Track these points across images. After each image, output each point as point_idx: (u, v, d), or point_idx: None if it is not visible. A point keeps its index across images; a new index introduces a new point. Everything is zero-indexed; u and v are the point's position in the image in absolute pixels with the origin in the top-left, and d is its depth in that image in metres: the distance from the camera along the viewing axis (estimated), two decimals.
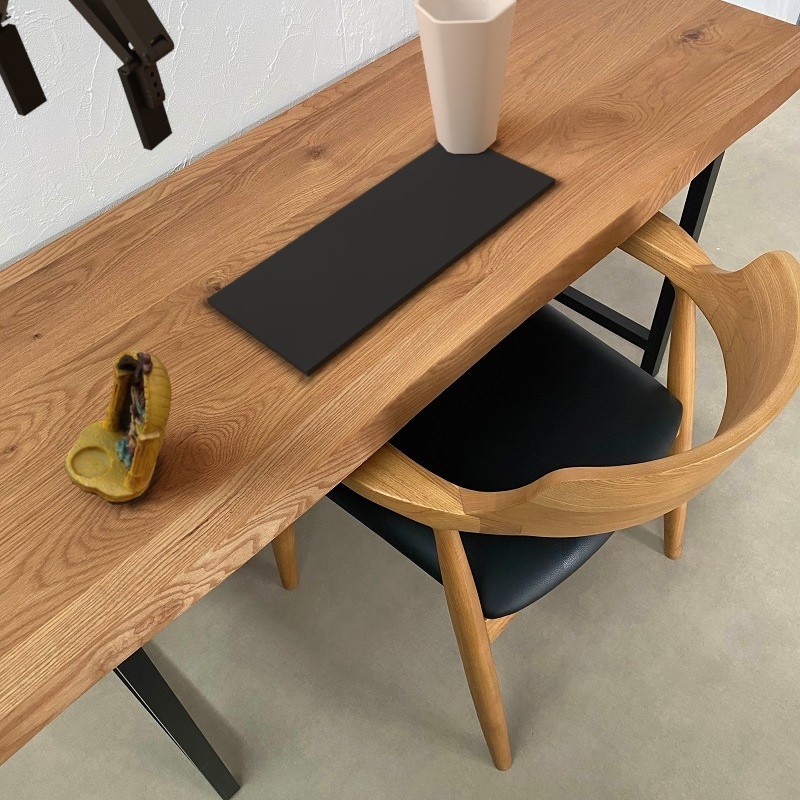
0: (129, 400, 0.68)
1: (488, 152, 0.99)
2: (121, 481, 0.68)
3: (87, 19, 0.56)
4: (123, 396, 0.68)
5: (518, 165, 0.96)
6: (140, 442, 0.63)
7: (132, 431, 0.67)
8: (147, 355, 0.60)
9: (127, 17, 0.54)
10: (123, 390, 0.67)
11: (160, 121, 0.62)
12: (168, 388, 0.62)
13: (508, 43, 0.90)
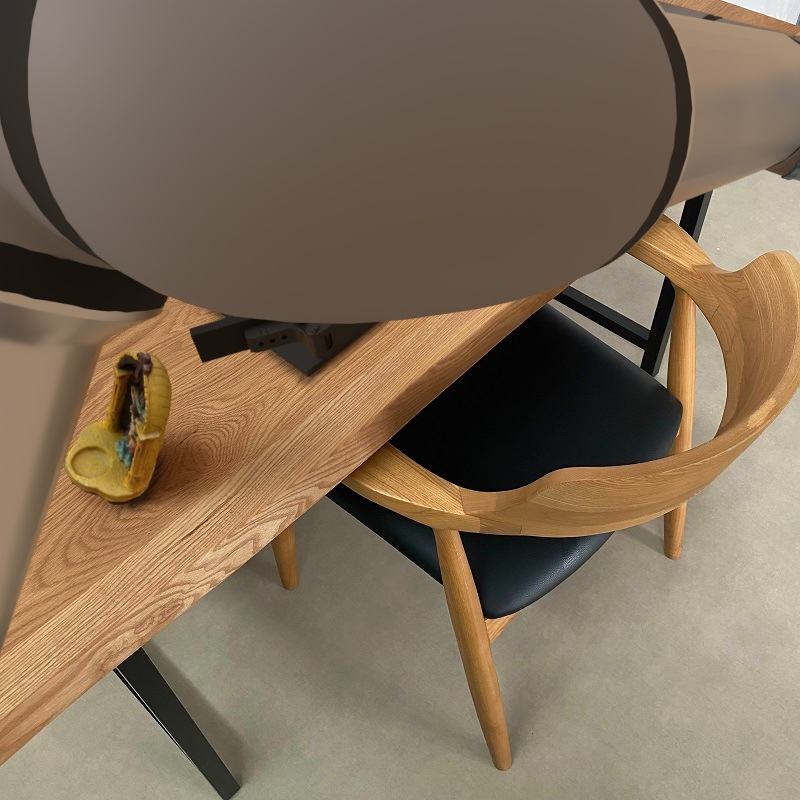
0: (129, 400, 0.68)
1: None
2: (121, 481, 0.69)
3: None
4: (123, 396, 0.68)
5: None
6: (140, 442, 0.63)
7: (132, 431, 0.67)
8: (147, 355, 0.60)
9: None
10: (123, 390, 0.67)
11: (219, 348, 0.54)
12: (168, 388, 0.62)
13: None
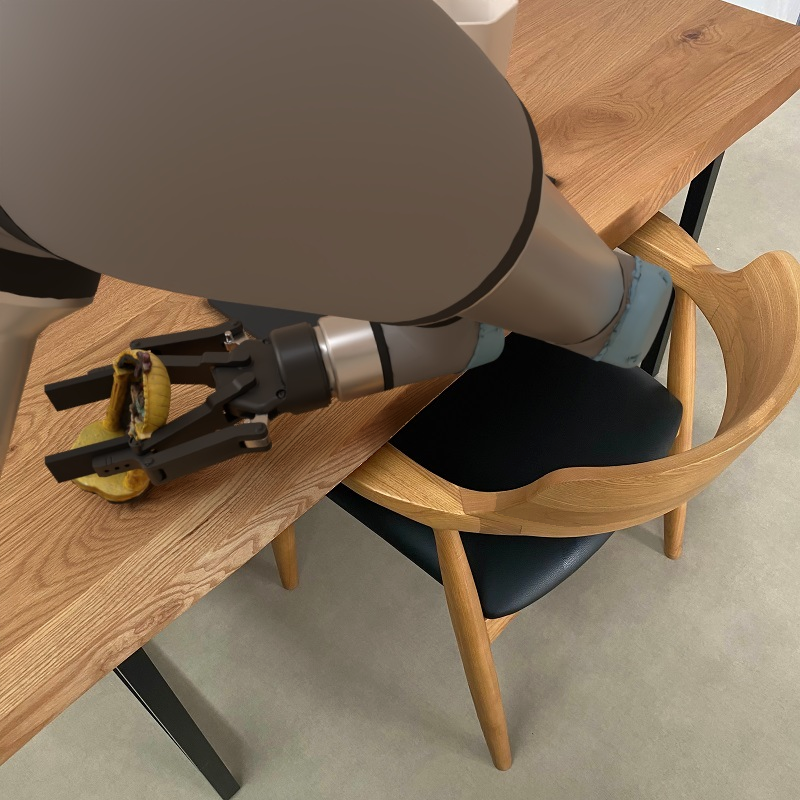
0: (129, 399, 0.68)
1: None
2: (120, 481, 0.69)
3: (179, 418, 0.63)
4: (123, 395, 0.68)
5: None
6: None
7: (132, 430, 0.67)
8: (146, 354, 0.60)
9: (185, 455, 0.61)
10: (123, 389, 0.67)
11: (72, 472, 0.63)
12: (167, 387, 0.62)
13: (509, 44, 0.90)
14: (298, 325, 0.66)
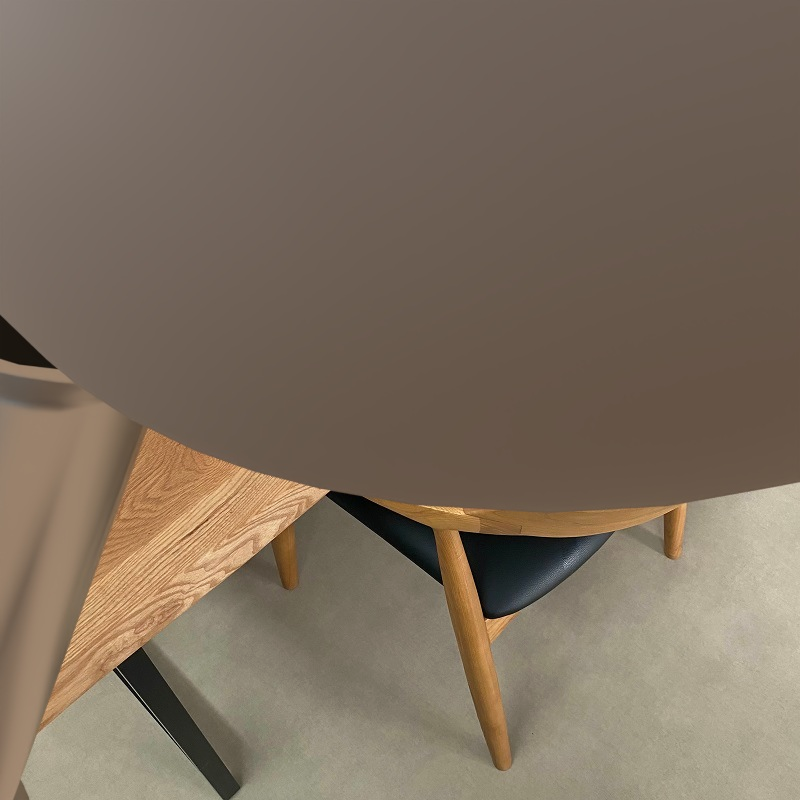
0: None
1: None
2: None
3: None
4: None
5: None
6: None
7: None
8: None
9: None
10: None
11: None
12: None
13: None
14: None
